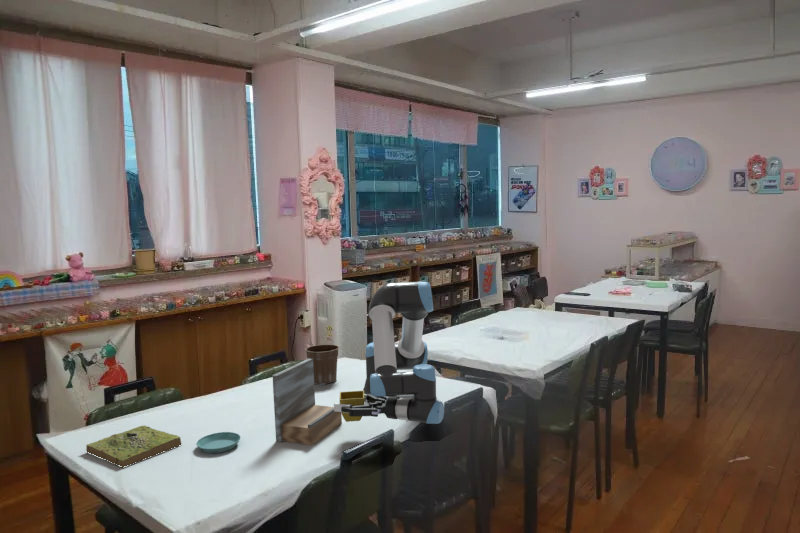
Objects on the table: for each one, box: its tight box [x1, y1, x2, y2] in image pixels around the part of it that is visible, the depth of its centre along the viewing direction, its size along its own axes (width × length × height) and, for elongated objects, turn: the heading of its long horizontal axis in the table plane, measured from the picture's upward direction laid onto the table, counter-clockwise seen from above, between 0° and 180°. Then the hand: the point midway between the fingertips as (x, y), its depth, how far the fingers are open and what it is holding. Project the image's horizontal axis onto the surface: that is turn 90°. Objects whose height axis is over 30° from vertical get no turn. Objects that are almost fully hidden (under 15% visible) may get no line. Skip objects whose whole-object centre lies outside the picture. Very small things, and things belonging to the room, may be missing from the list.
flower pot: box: [339, 390, 365, 423], centre depth 207 cm, size 9×9×9 cm
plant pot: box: [304, 344, 340, 385], centre depth 278 cm, size 16×16×16 cm
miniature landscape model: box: [85, 425, 182, 467], centre depth 204 cm, size 22×24×5 cm
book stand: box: [271, 358, 343, 446], centre depth 214 cm, size 14×24×24 cm, turn 157°
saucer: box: [195, 431, 241, 454], centre depth 203 cm, size 15×15×3 cm
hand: (342, 401), depth 208 cm, fingers closed on flower pot, 11 cm apart
